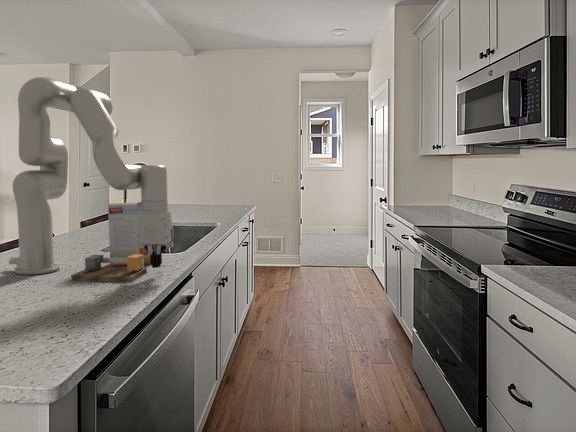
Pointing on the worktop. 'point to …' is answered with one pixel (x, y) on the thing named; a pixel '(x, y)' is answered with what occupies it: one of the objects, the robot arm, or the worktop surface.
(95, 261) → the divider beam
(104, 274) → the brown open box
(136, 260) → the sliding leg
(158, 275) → the worktop surface
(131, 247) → the cracker box
